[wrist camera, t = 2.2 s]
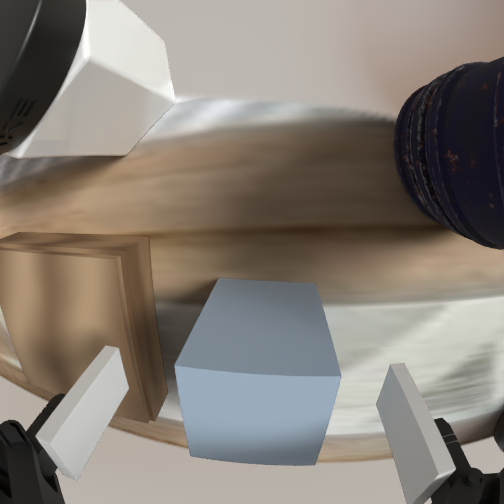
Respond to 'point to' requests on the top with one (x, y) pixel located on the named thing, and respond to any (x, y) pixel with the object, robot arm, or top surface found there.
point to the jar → (78, 78)
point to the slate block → (258, 374)
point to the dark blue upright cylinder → (457, 151)
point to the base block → (83, 312)
